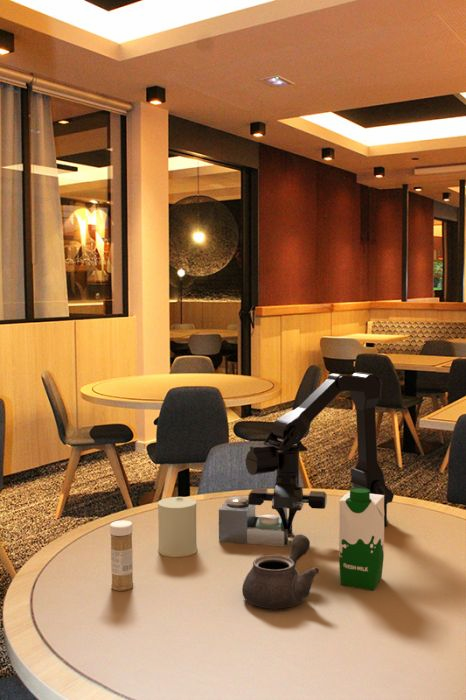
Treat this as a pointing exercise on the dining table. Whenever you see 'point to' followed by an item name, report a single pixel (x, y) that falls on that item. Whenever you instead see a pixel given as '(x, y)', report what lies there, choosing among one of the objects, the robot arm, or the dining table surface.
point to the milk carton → (361, 538)
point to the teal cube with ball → (269, 522)
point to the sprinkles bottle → (121, 555)
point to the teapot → (279, 578)
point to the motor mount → (246, 525)
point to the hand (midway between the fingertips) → (287, 532)
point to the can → (177, 526)
